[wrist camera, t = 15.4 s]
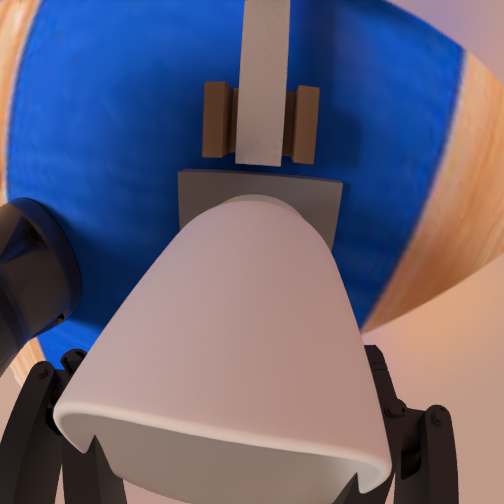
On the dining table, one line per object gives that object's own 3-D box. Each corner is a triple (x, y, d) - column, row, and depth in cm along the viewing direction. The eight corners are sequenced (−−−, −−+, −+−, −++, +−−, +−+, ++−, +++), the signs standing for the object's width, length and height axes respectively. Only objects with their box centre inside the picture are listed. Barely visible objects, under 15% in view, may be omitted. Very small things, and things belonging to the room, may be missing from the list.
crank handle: (239, 159, 16) (209, 189, 9) (253, -52, 8) (240, -120, 1) (280, 162, 15) (284, 194, 8) (290, -50, 8) (295, -119, 1)
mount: (217, 148, 18) (198, 157, 13) (220, 92, 16) (201, 82, 11) (306, 154, 17) (317, 165, 13) (310, 98, 16) (323, 88, 11)
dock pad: (189, 296, 23) (185, 305, 22) (183, 168, 18) (177, 172, 17) (315, 307, 23) (317, 317, 22) (339, 179, 18) (343, 183, 17)
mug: (363, 349, 15) (395, 501, 6) (247, 382, 18) (228, 519, 8) (296, 165, 11) (373, 363, 2) (144, 238, 13) (10, 396, 4)
